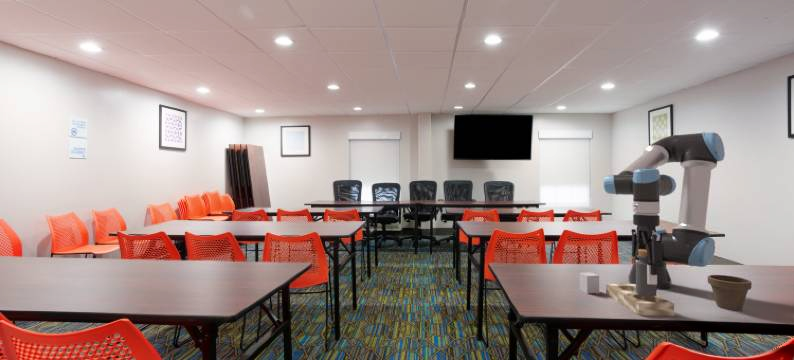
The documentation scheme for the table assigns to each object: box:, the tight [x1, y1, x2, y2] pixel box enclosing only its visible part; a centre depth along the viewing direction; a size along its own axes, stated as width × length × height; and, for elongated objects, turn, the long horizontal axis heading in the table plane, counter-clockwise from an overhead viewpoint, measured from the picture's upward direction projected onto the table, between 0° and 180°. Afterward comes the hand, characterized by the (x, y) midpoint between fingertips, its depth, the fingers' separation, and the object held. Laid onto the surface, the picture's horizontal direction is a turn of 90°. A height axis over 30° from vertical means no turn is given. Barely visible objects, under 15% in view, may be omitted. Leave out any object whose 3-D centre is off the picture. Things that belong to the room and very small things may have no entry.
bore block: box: [605, 283, 675, 317], centre depth 133 cm, size 11×22×4 cm, turn 176°
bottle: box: [636, 249, 657, 296], centre depth 127 cm, size 6×6×15 cm
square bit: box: [579, 271, 600, 294], centre depth 147 cm, size 5×5×7 cm
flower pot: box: [707, 274, 752, 311], centre depth 129 cm, size 12×11×10 cm
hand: (646, 281), depth 127 cm, fingers closed on bottle, 6 cm apart
